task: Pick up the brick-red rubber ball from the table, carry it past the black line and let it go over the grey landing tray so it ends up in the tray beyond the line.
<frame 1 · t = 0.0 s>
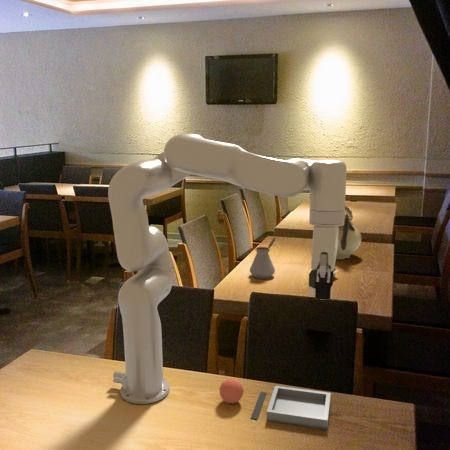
hand: (324, 291, 112), 31 cm above the table, tool pointing down, fingers open, 9 cm apart
architectural model: (330, 279, 223), on the table
landing tray: (299, 411, 121), on the table
ball: (231, 390, 125), point 3 cm above the table
white drawstring sack: (338, 256, 257), on the table
coffee pot: (266, 273, 230), on the table
throw line: (258, 405, 123), on the table
wine bottle: (319, 319, 177), on the table
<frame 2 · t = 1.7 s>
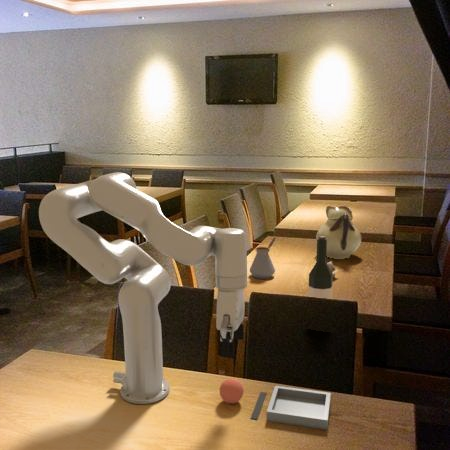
hand: (232, 347, 122), 15 cm above the table, tool pointing down, fingers open, 9 cm apart
nothing on the table moved.
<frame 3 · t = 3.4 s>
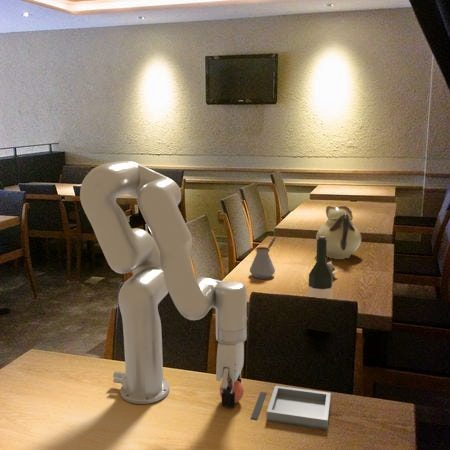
hand: (231, 398, 125), 1 cm above the table, tool pointing down, fingers closed on ball, 5 cm apart
ball: (231, 390, 125), point 3 cm above the table, touching gripper
everything else where it was.
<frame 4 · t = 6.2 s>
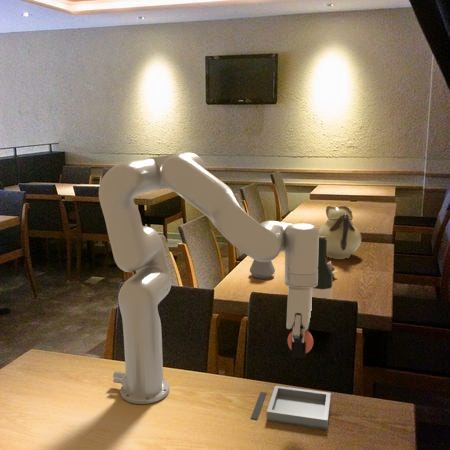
hand: (300, 350, 118), 16 cm above the table, tool pointing down, fingers closed on ball, 5 cm apart
ball: (300, 341, 117), point 18 cm above the table, touching gripper
everything else where it was.
when the fingers open (3 cm above the table, at t = 9.0 s): ball drops 2 cm, resting on landing tray.
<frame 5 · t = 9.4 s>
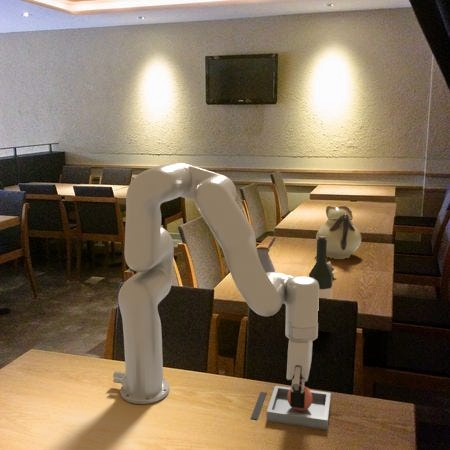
hand: (299, 395, 120), 4 cm above the table, tool pointing down, fingers open, 9 cm apart
ball: (299, 397, 120), point 4 cm above the table, touching landing tray
everything else where it was.
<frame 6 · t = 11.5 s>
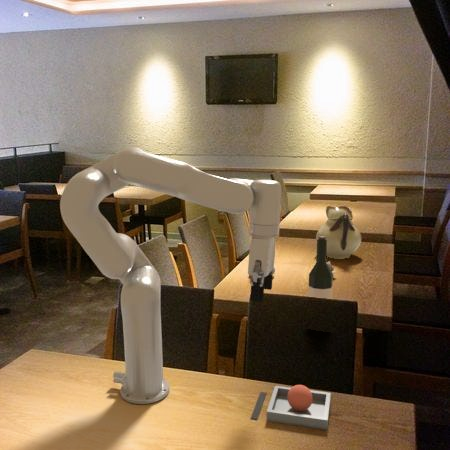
hand: (261, 294, 128), 25 cm above the table, tool pointing down, fingers open, 9 cm apart
nothing on the table moved.
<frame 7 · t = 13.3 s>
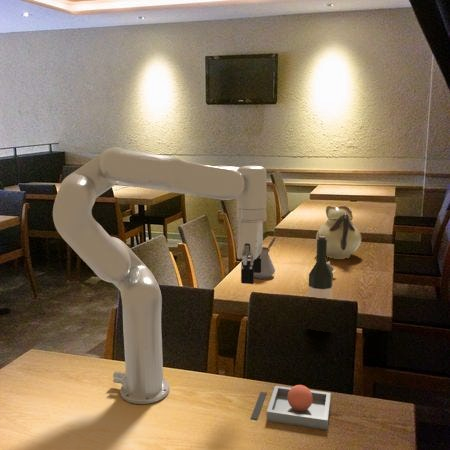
hand: (251, 277, 132), 28 cm above the table, tool pointing down, fingers open, 9 cm apart
at the end: ball inside the target area on the landing tray (0.1 cm from its centre), point 3.6 cm above the landing tray's base; ball inside the target area (0.5 cm from its centre), point 3.6 cm above the table; the gripper is holding nothing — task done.
